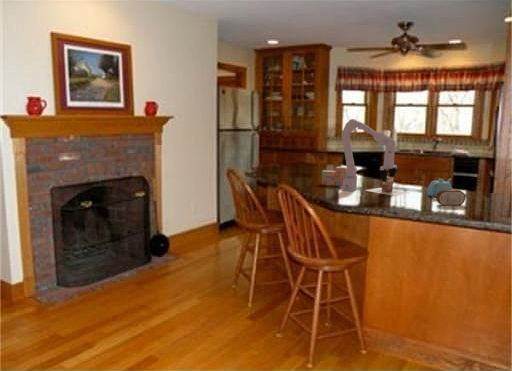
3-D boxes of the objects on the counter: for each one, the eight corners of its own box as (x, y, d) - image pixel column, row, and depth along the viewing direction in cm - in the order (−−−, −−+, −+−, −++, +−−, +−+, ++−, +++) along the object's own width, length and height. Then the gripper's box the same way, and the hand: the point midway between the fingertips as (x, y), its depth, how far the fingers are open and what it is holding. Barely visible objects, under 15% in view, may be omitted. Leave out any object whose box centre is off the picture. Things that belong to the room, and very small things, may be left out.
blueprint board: (410, 193, 266) (410, 192, 266) (395, 196, 256) (395, 195, 256) (379, 188, 283) (379, 187, 283) (364, 191, 273) (364, 190, 273)
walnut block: (392, 191, 269) (392, 184, 268) (388, 192, 266) (388, 185, 266) (386, 190, 273) (386, 183, 272) (381, 191, 270) (382, 184, 269)
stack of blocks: (321, 185, 295) (321, 166, 292) (323, 183, 300) (323, 165, 298) (353, 187, 287) (354, 168, 285) (354, 185, 293) (355, 167, 291)
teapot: (460, 179, 256) (443, 181, 246) (459, 197, 258) (441, 200, 248) (441, 176, 266) (423, 178, 256) (439, 193, 268) (421, 196, 258)
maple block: (393, 184, 268) (393, 177, 267) (388, 185, 265) (389, 177, 264) (386, 183, 272) (387, 176, 271) (382, 184, 269) (382, 176, 268)
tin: (462, 204, 237) (464, 189, 236) (465, 206, 234) (467, 190, 233) (435, 204, 237) (436, 189, 235) (437, 205, 234) (439, 190, 232)
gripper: (387, 160, 258) (386, 182, 261) (401, 158, 267) (400, 180, 270) (377, 159, 264) (376, 181, 266) (391, 157, 273) (390, 179, 275)
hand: (387, 180), depth 268 cm, fingers open, 7 cm apart
